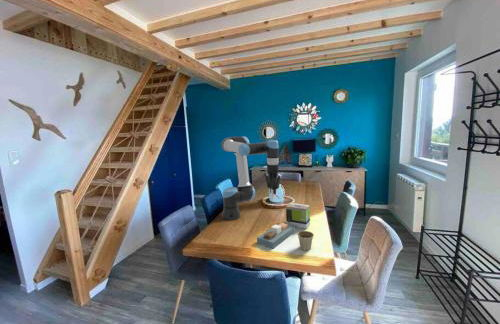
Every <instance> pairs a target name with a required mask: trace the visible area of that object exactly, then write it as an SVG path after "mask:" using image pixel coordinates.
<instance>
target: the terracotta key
mask: <svg viewBox="0 0 500 324" xmlns="http://www.w3.org/2000/svg"><path fill="white" fill-rule="evenodd" d="M280 223H281V224H279V223H278V224H279V226H281V230H286V229H287V228H288V224H286V223H285V222H280Z"/></svg>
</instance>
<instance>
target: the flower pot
mask: <svg viewBox="0 0 500 324" xmlns="http://www.w3.org/2000/svg"><path fill="white" fill-rule="evenodd" d="M297 237H298V240H299V248H300V249H301V250H302V251H310V250H311V249H312V244H313V238H314V237H315V234H314V233H313V232H311V231H308V230H301V231H298V232H297Z"/></svg>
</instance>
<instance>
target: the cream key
mask: <svg viewBox="0 0 500 324" xmlns="http://www.w3.org/2000/svg"><path fill="white" fill-rule="evenodd" d="M270 229H271V232H272V233H275V234H277V235H278V234H279V233H281V232H282V231H281V226H279V225H277V224H273V225H272V226H270Z"/></svg>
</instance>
